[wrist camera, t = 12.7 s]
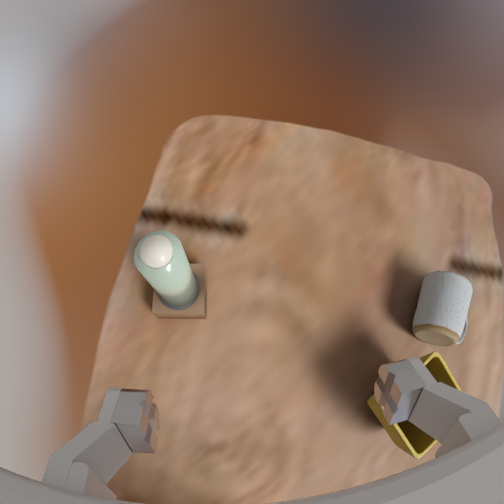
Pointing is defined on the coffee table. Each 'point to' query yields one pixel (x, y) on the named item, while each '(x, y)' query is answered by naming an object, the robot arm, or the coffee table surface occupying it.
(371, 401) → the flower pot
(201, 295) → the base
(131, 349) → the coffee table surface
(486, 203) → the coffee table surface
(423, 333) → the ceramic mug
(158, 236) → the column
